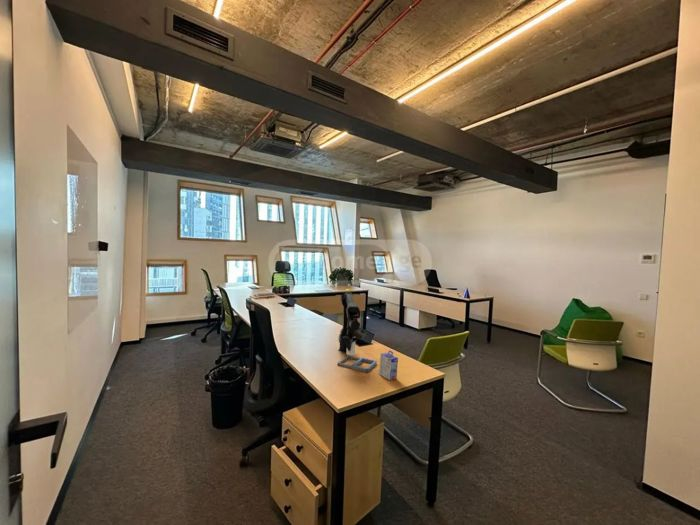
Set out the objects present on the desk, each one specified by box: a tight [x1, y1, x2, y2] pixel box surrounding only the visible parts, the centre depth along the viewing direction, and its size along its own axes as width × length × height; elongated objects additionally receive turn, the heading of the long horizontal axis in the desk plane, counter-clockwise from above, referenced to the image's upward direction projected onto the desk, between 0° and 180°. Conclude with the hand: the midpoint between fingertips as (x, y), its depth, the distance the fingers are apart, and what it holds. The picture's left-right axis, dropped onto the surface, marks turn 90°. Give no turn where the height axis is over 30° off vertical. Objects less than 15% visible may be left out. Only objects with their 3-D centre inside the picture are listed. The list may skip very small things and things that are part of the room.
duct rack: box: [337, 355, 378, 373], centre depth 182 cm, size 20×15×2 cm
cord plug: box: [345, 341, 356, 356], centre depth 184 cm, size 4×4×8 cm
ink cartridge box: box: [378, 349, 399, 381], centre depth 167 cm, size 10×6×14 cm, turn 33°
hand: (350, 350), depth 184 cm, fingers closed on cord plug, 4 cm apart
